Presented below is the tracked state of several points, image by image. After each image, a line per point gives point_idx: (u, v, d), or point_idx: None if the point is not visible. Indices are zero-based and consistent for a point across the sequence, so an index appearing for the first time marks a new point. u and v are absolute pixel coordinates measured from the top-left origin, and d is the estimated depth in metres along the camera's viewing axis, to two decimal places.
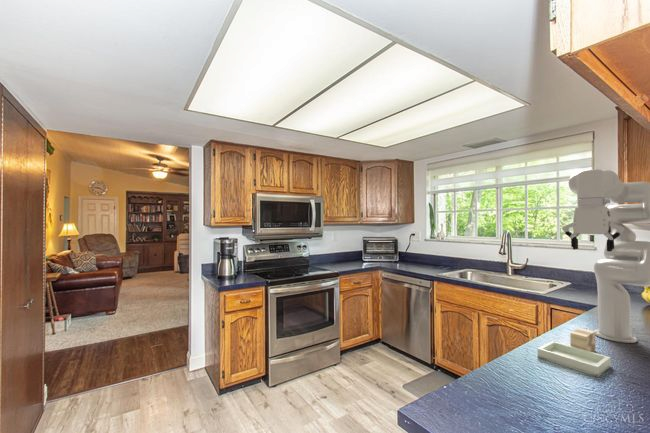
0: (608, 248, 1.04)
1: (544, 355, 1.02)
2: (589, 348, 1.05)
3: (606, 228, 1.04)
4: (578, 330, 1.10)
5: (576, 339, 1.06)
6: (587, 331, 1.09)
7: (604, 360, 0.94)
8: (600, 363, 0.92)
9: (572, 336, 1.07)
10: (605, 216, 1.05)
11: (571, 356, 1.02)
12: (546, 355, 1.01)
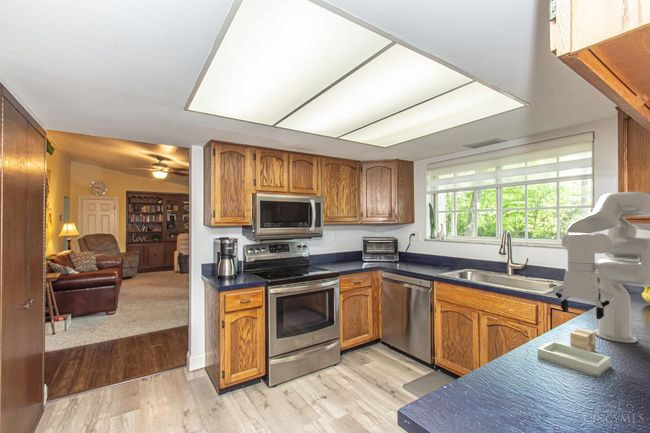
0: (598, 316, 1.03)
1: (544, 355, 1.02)
2: (589, 348, 1.05)
3: (596, 295, 1.03)
4: (578, 330, 1.10)
5: (576, 339, 1.06)
6: (587, 331, 1.09)
7: (604, 360, 0.94)
8: (600, 363, 0.92)
9: (572, 336, 1.07)
10: (595, 283, 1.03)
11: (571, 356, 1.02)
12: (546, 355, 1.01)
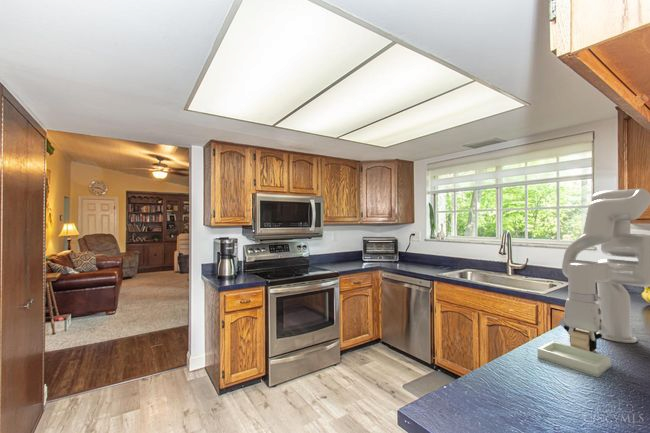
0: (590, 348, 1.05)
1: (544, 355, 1.02)
2: (589, 348, 1.05)
3: (597, 327, 1.03)
4: (578, 330, 1.10)
5: (576, 339, 1.06)
6: (587, 331, 1.09)
7: (604, 360, 0.94)
8: (600, 363, 0.92)
9: (572, 336, 1.07)
10: (596, 314, 1.03)
11: (571, 356, 1.02)
12: (546, 355, 1.01)
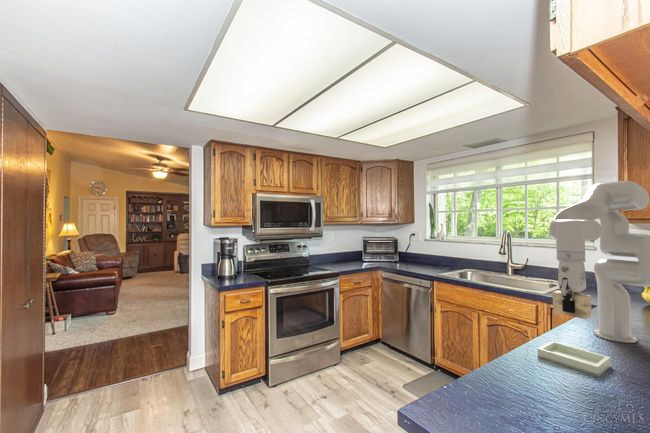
0: None
1: (544, 355, 1.02)
2: (562, 307, 1.00)
3: (558, 284, 1.00)
4: (576, 293, 1.00)
5: None
6: (579, 295, 0.98)
7: (604, 360, 0.94)
8: (600, 363, 0.92)
9: None
10: (558, 271, 1.00)
11: (571, 356, 1.02)
12: (546, 355, 1.01)
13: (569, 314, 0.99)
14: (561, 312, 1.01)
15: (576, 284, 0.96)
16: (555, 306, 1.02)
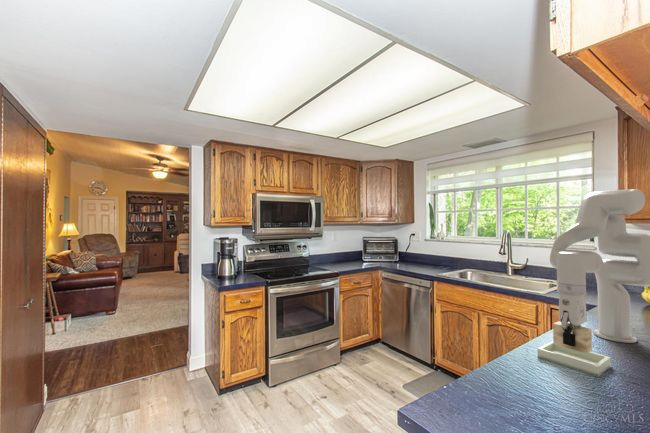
0: None
1: (544, 355, 1.02)
2: None
3: (559, 316, 0.99)
4: None
5: None
6: (580, 328, 0.98)
7: (604, 360, 0.94)
8: (600, 363, 0.92)
9: None
10: (559, 303, 0.99)
11: (571, 356, 1.02)
12: (546, 355, 1.01)
13: (569, 347, 0.99)
14: (561, 344, 1.00)
15: (577, 318, 0.96)
16: (555, 338, 1.02)
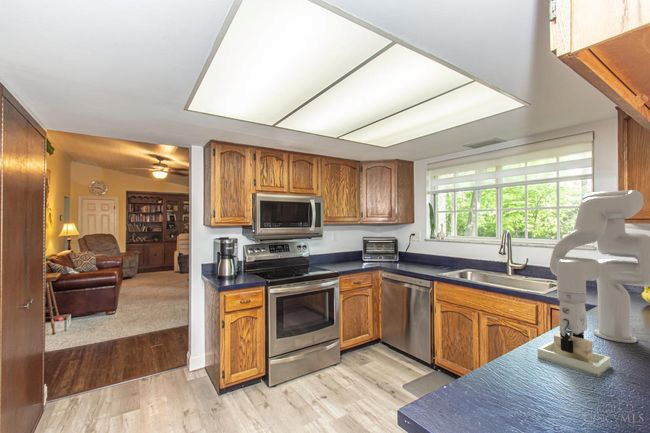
0: None
1: (544, 355, 1.02)
2: (564, 351, 1.00)
3: (559, 324, 0.99)
4: (577, 338, 1.00)
5: None
6: (581, 340, 0.98)
7: (604, 360, 0.94)
8: (600, 363, 0.92)
9: None
10: (559, 312, 0.99)
11: None
12: (546, 355, 1.01)
13: None
14: None
15: (577, 326, 0.96)
16: (556, 350, 1.02)
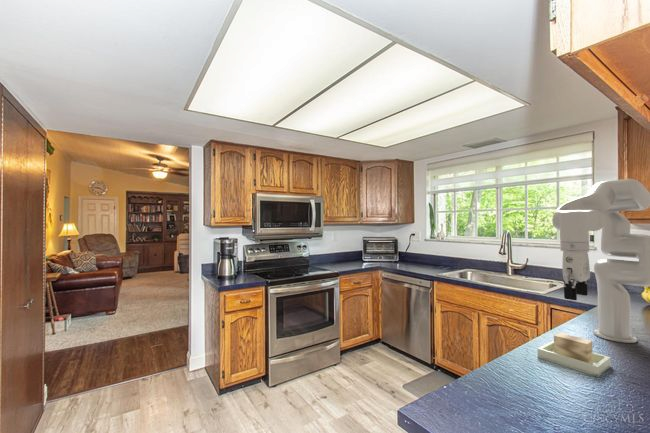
0: None
1: (544, 355, 1.02)
2: (564, 351, 1.00)
3: None
4: (577, 338, 1.00)
5: None
6: (581, 340, 0.98)
7: (604, 360, 0.94)
8: (600, 363, 0.92)
9: None
10: None
11: None
12: (546, 355, 1.01)
13: None
14: None
15: (580, 274, 0.97)
16: (556, 350, 1.02)
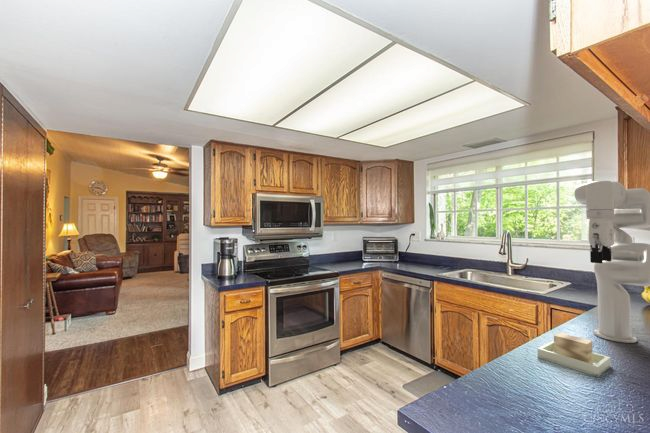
0: None
1: (544, 355, 1.02)
2: (564, 351, 1.00)
3: (589, 240, 1.08)
4: (577, 338, 1.00)
5: None
6: (581, 340, 0.98)
7: (604, 360, 0.94)
8: (600, 363, 0.92)
9: None
10: (589, 228, 1.08)
11: None
12: (546, 355, 1.01)
13: None
14: None
15: (606, 238, 1.04)
16: (556, 350, 1.02)
